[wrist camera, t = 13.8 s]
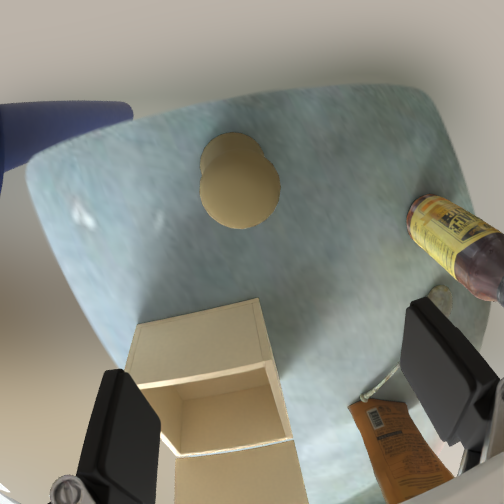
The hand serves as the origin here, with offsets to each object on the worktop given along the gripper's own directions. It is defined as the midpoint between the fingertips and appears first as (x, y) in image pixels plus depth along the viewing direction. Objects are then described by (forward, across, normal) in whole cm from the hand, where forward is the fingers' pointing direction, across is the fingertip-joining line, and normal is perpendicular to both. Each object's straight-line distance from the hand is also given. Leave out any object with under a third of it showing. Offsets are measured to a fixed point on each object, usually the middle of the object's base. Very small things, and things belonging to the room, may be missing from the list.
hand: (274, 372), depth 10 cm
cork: (+23, 0, -3) cm, 23 cm away
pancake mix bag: (+23, -17, +42) cm, 51 cm away
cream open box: (+22, +8, +20) cm, 31 cm away
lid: (+4, +7, +26) cm, 28 cm away
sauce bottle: (+23, -20, +7) cm, 31 cm away
